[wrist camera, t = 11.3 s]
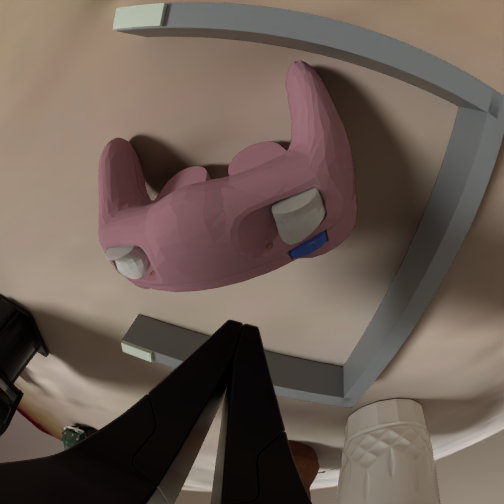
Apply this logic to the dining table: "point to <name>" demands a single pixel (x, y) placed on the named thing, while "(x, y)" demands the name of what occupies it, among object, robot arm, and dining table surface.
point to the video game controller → (234, 203)
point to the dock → (435, 216)
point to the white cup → (387, 456)
